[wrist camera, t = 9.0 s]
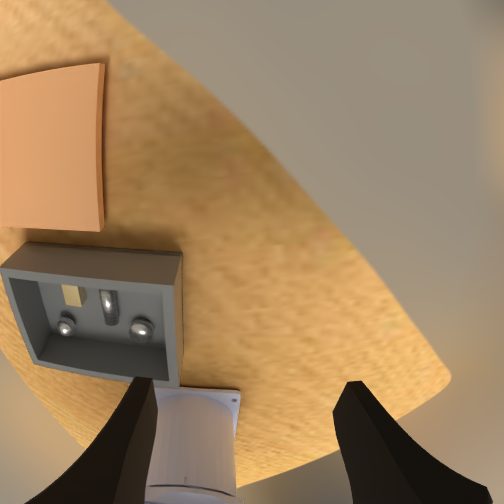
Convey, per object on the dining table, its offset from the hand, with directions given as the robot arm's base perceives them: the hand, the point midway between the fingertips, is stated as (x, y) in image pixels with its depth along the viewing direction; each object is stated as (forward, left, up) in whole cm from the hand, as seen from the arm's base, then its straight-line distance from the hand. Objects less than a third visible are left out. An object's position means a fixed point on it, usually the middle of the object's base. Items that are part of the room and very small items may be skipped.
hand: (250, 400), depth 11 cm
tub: (-3, +9, -9) cm, 13 cm away
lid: (+7, +14, -9) cm, 18 cm away
